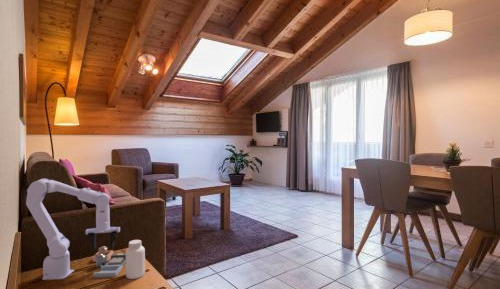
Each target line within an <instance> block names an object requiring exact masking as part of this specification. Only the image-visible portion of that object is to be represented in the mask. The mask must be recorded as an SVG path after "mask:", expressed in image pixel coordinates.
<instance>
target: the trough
mask: <svg viewBox="0 0 500 289" xmlns="http://www.w3.org/2000/svg"><path fill="white" fill-rule="evenodd" d="M123 268H124V266H123V265H112V264H110V265H109V266H101V268H100V270H99V271H98V272H97V271H96V272H93V275H92V276H93V279H94V278H95V279H96V278H105V277H108V278H116V277H117V276H118V274H120V272H121V271H122V270H123Z"/></svg>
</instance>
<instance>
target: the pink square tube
mask: <svg viewBox="0 0 500 289" xmlns="http://www.w3.org/2000/svg"><path fill="white" fill-rule="evenodd" d="M107 252H108V255H106V262H108V261H109V260H110V259H111V255H112V254H114V250H113V249H112V250H107ZM97 255H99V251H98V252H96V253H95V254H94V255H93V256H92V263H93V262H94V263H96V256H97Z"/></svg>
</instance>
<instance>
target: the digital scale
mask: <svg viewBox="0 0 500 289" xmlns="http://www.w3.org/2000/svg"><path fill="white" fill-rule="evenodd" d="M120 257H124V260H123V261H122V262H121V263H120V264H109V262H110V261H111V260H112V259H113V258H120ZM109 265H123V267H124V266H126V253H113V254H112V255H111V258H110V259H109V260H108V261H106V264H105V265H104V266H109Z"/></svg>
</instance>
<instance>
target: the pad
mask: <svg viewBox="0 0 500 289" xmlns="http://www.w3.org/2000/svg"><path fill="white" fill-rule="evenodd" d="M123 260H124V257H120V258H113V259H112V260H111V261H110V262H109V264H110V265H112V264H121V263H122V262H123Z"/></svg>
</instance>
